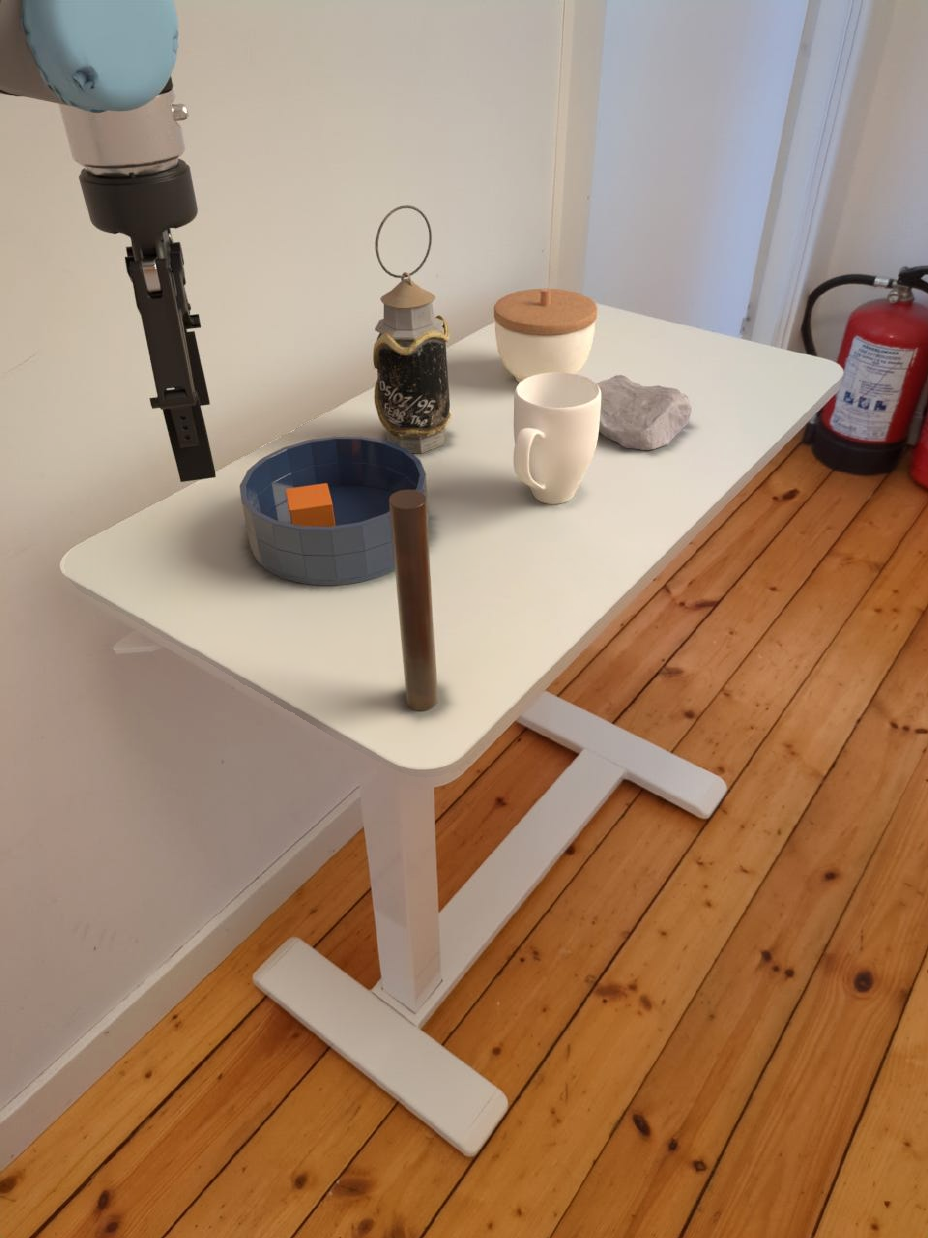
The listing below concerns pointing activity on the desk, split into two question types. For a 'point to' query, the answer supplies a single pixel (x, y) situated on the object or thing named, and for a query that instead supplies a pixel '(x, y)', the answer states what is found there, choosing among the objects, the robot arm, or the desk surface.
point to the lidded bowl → (544, 331)
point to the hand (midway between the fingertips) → (196, 439)
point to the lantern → (411, 363)
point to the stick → (414, 596)
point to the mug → (555, 433)
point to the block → (310, 506)
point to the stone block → (641, 413)
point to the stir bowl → (359, 501)
